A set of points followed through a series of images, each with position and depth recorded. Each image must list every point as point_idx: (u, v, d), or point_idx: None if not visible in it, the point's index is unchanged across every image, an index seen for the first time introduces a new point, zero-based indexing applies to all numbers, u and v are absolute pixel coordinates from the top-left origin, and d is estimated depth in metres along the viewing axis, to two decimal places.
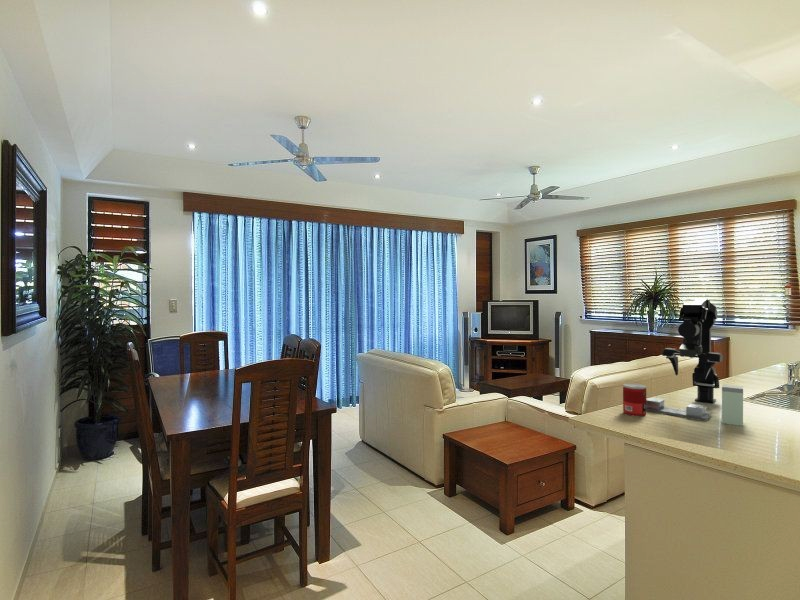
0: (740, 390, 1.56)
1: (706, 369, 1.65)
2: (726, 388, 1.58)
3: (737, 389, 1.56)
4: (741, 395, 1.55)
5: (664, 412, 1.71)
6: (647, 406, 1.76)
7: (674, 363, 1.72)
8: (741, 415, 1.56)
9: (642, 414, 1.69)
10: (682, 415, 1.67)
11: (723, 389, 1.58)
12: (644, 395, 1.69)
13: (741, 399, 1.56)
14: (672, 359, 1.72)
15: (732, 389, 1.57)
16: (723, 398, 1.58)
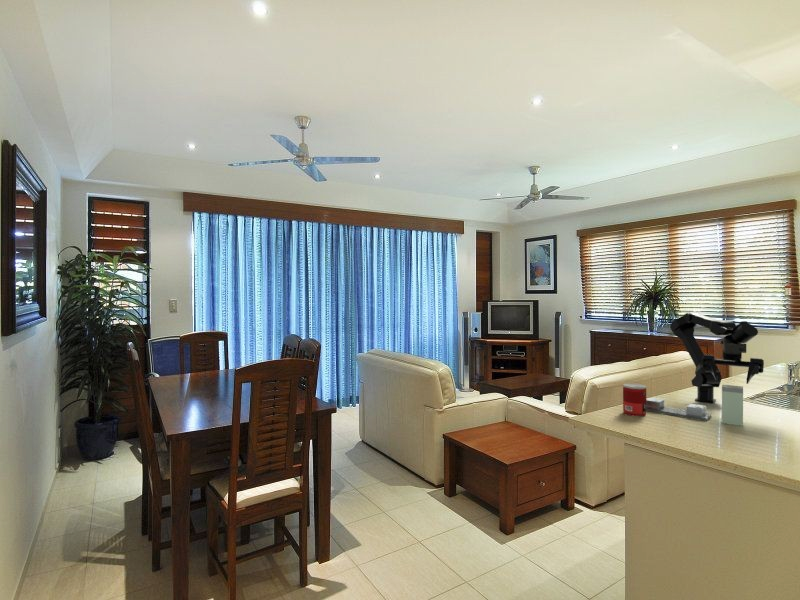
0: (740, 390, 1.56)
1: (749, 372, 1.64)
2: (726, 388, 1.58)
3: (737, 389, 1.56)
4: (741, 395, 1.55)
5: (664, 412, 1.71)
6: (647, 406, 1.76)
7: (714, 367, 1.70)
8: (741, 415, 1.56)
9: (642, 414, 1.69)
10: (682, 415, 1.67)
11: (723, 389, 1.58)
12: (644, 395, 1.69)
13: (741, 399, 1.56)
14: (713, 362, 1.71)
15: (732, 389, 1.57)
16: (723, 398, 1.58)
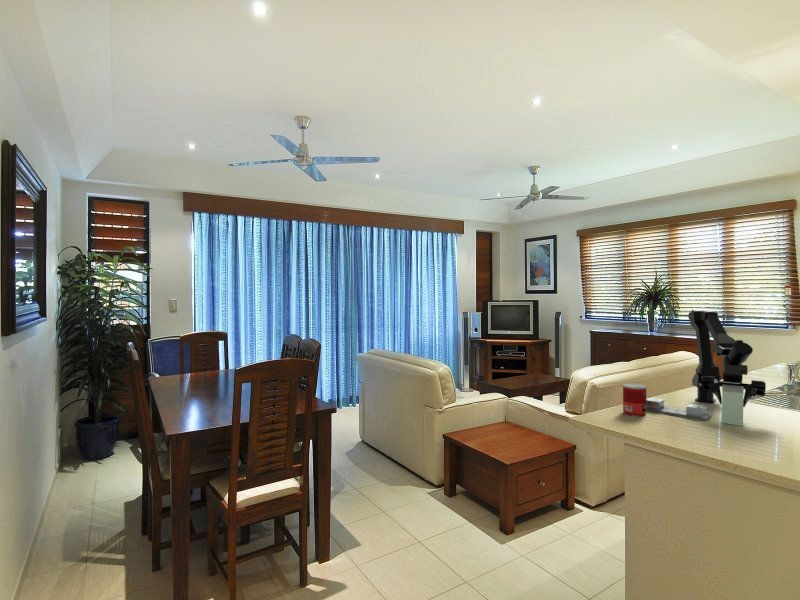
0: (740, 390, 1.55)
1: (745, 395, 1.57)
2: (726, 388, 1.58)
3: (737, 389, 1.56)
4: (741, 395, 1.55)
5: (664, 412, 1.71)
6: (647, 406, 1.76)
7: (719, 390, 1.62)
8: (741, 415, 1.56)
9: (642, 414, 1.69)
10: (682, 415, 1.67)
11: (723, 389, 1.58)
12: (644, 395, 1.69)
13: (741, 399, 1.55)
14: (717, 385, 1.63)
15: (732, 389, 1.57)
16: (723, 398, 1.58)
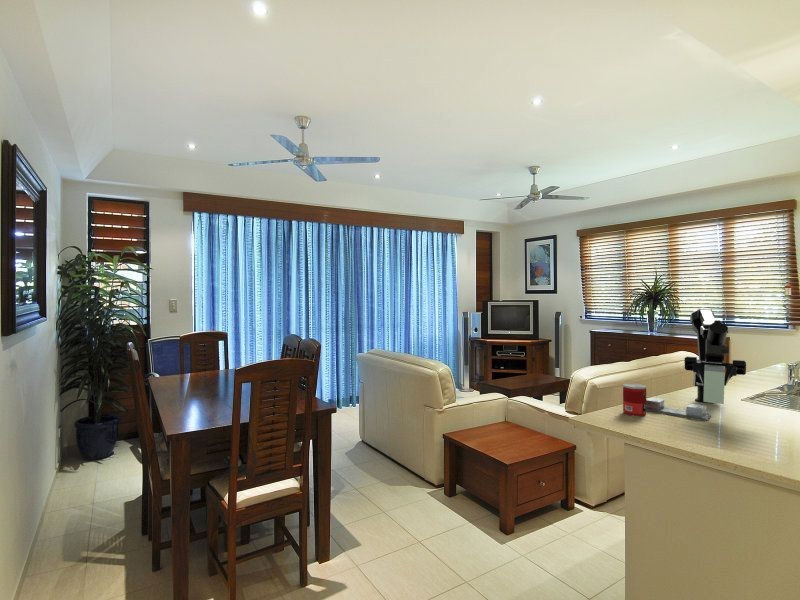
0: (722, 369, 1.59)
1: (726, 374, 1.61)
2: (708, 367, 1.62)
3: (719, 368, 1.60)
4: (723, 374, 1.59)
5: (664, 412, 1.71)
6: (647, 406, 1.76)
7: (701, 370, 1.66)
8: (722, 394, 1.59)
9: (642, 414, 1.69)
10: (682, 415, 1.67)
11: (705, 368, 1.62)
12: (644, 395, 1.69)
13: (722, 378, 1.59)
14: (700, 365, 1.66)
15: (714, 368, 1.61)
16: (705, 377, 1.62)
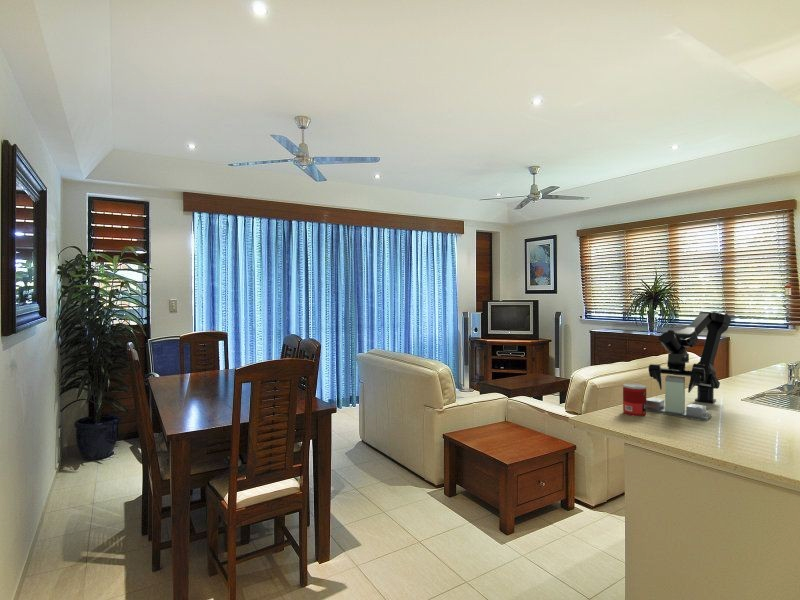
0: (681, 380, 1.68)
1: (691, 381, 1.69)
2: (669, 378, 1.71)
3: (678, 379, 1.69)
4: (682, 385, 1.68)
5: (664, 412, 1.71)
6: (647, 406, 1.76)
7: (659, 377, 1.76)
8: (682, 403, 1.68)
9: (642, 414, 1.69)
10: (682, 415, 1.67)
11: (666, 379, 1.71)
12: (644, 395, 1.69)
13: (681, 388, 1.68)
14: (658, 372, 1.76)
15: (674, 379, 1.70)
16: (666, 388, 1.71)
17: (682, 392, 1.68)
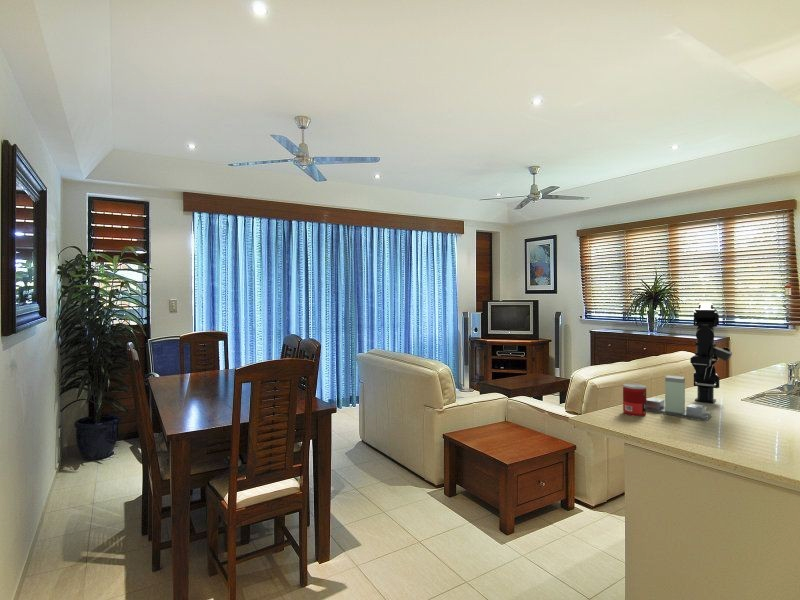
0: (681, 380, 1.68)
1: (711, 368, 1.79)
2: (669, 378, 1.71)
3: (678, 379, 1.69)
4: (682, 385, 1.68)
5: (664, 412, 1.71)
6: (647, 406, 1.76)
7: (706, 369, 1.72)
8: (682, 403, 1.68)
9: (642, 414, 1.69)
10: (682, 415, 1.67)
11: (666, 379, 1.71)
12: (644, 395, 1.69)
13: (681, 388, 1.68)
14: (709, 366, 1.71)
15: (674, 379, 1.70)
16: (666, 388, 1.71)
17: (682, 392, 1.68)
